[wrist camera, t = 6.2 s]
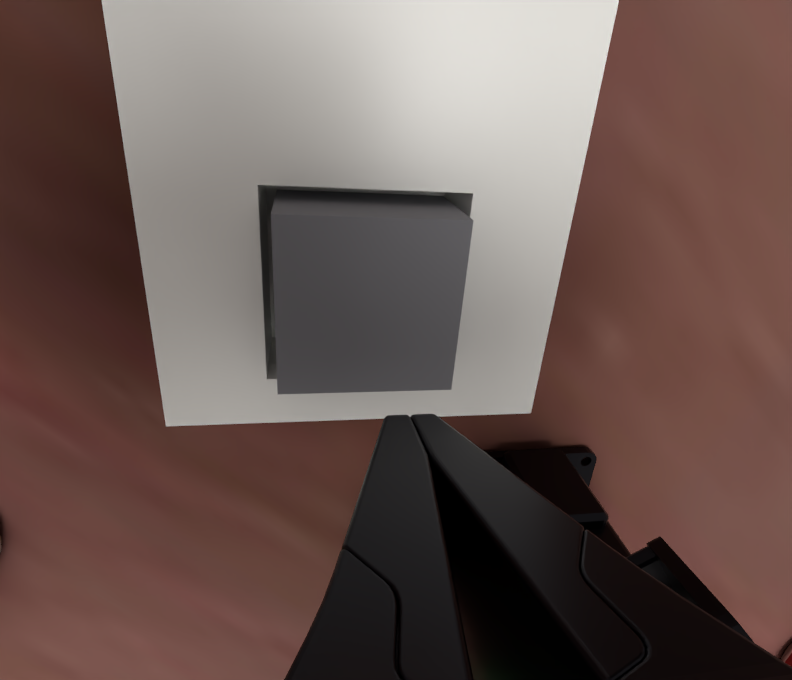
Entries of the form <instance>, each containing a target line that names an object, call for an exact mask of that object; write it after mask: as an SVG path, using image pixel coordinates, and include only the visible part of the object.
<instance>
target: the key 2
mask: <svg viewBox="0 0 792 680" xmlns="http://www.w3.org/2000/svg"><path fill="white" fill-rule="evenodd" d="M473 221H474V220H472V219H471V218H470V217H469V216H467V215H466V214H465V213H464V212H463V211H461V210H460V209H459V208H458V207H456V206H455V205H454V204H453V203H452V202H450V201H449V200H448V199H447V198H445V197H444V196H435V195H409V194H383V193H357V192H331V191H305V190H279V189H277V191H276V195H275V199H274V203H273V207H272V211H271V233H272V260H273V286H274V313H275V339H276V366H277V392H278V394H311V393H349V392H386V391H423V390H451V388H452V381H453V373H454V365H455V358H456V350H457V343H458V335H459V327H460V320H461V312H462V304H463V297H464V289H465V282H466V274H467V266H468V259H469V251H470V243H471V236H472V228H473Z"/></svg>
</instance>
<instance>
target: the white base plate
mask: <svg viewBox="0 0 792 680" xmlns="http://www.w3.org/2000/svg"><path fill="white" fill-rule="evenodd" d="M618 2H619V0H102V7H103V13H104V20H105V27H106V33H107V40H108V46H109V53H110V60H111V66H112V73H113V80H114V86H115V93H116V99H117V106H118V113H119V119H120V126H121V132H122V139H123V146H124V152H125V159H126V165H127V172H128V179H129V185H130V192H131V198H132V205H133V212H134V218H135V225H136V232H137V238H138V245H139V251H140V258H141V265H142V271H143V278H144V284H145V291H146V298H147V304H148V311H149V317H150V324H151V331H152V337H153V344H154V350H155V357H156V364H157V370H158V377H159V383H160V390H161V397H162V403H163V410H164V417H165V423H166V426H190V425H218V424H246V423H274V422H302V421H330V420H358V419H384V418H385V417H386V416H387V415H408V416H409V417H411V416H412V415H414V414H435V415H436V416H438V417H441V416H469V415H497V414H525V413H531V410H532V406H533V401H534V396H535V392H536V387H537V382H538V377H539V373H540V368H541V363H542V359H543V354H544V349H545V345H546V340H547V335H548V331H549V326H550V321H551V317H552V312H553V307H554V302H555V298H556V293H557V288H558V284H559V279H560V274H561V270H562V265H563V260H564V256H565V251H566V246H567V242H568V237H569V232H570V227H571V223H572V218H573V213H574V209H575V204H576V199H577V195H578V190H579V185H580V181H581V176H582V171H583V166H584V162H585V157H586V152H587V148H588V143H589V138H590V134H591V129H592V124H593V120H594V115H595V110H596V106H597V101H598V96H599V91H600V87H601V82H602V77H603V73H604V68H605V63H606V59H607V54H608V49H609V45H610V40H611V35H612V31H613V26H614V21H615V16H616V12H617V7H618ZM277 189H279V190H305V191H331V192H357V193H383V194H409V195H435V196H444V197H445V198H447V199H448V200H449V201H450V202H452V203H453V204H454V205H455V206H456V207H458V208H459V209H460V210H461V211H463V212H464V213H465V214H466V215H467V216H469V217H470V218H471V219H472V220H474V221H473V228H472V236H471V243H470V251H469V259H468V266H467V274H466V282H465V289H464V297H463V304H462V312H461V320H460V327H459V335H458V343H457V350H456V358H455V365H454V373H453V381H452V388H451V390H423V391H386V392H349V393H311V394H278V392H277V366H276V339H275V313H274V286H273V260H272V233H271V211H272V207H273V203H274V199H275V195H276V191H277Z"/></svg>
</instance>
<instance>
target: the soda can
mask: <svg viewBox="0 0 792 680" xmlns="http://www.w3.org/2000/svg"><path fill="white" fill-rule="evenodd" d="M781 661H783V662H785V663H786V664H788V665H790V666H791V667H792V643H791V644H790V645H789V646H788V647H787V649H786V650H785V651H784V653H783V655H782V657H781Z"/></svg>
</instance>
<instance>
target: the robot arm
mask: <svg viewBox="0 0 792 680" xmlns="http://www.w3.org/2000/svg"><path fill="white" fill-rule="evenodd" d="M585 457H586V458H585ZM583 458H585V459H584V460H582V459H583ZM595 463H596V456H595V454H594V453H593V452H592V450H591V449H589V448H587V447H576V448H555V449H534V450H514V451H493V452H484V451H483V450H481V449H480V448H479V447H477V446H476V445H475V444H474V443H472V442H471V441H470V440H468V439H467V438H466V437H464V436H463V435H462V434H460V433H459V432H458V431H456V430H455V429H454V428H452V427H451V426H450V425H448V424H447V423H446V422H444V421H443V420H442V419H441V418H439V417H438V416H436V415H435V414H414V415H412V416H411V417H409V416H408V415H387V416H386V417H385V418H384V421H383V424H382V427H381V430H380V433H379V436H378V439H377V442H376V445H375V448H374V451H373V454H372V457H371V460H370V464H369V467H368V470H367V473H366V476H365V479H364V482H363V485H362V488H361V491H360V494H359V497H358V500H357V503H356V506H355V509H354V512H353V515H352V518H351V521H350V525H349V528H348V531H347V534H346V537H345V540H344V543H343V546H342V550H341V551H340V554H339V557H338V560H337V563H336V566H335V569H334V572H333V575H332V577H331V580H330V583H329V585H328V588H327V591H326V593H325V596H324V598H323V601H322V604H321V606H320V608H319V610H318V612H317V614H316V617H315V619H314V621H313V623H312V625H311V627H310V630H309V632H308V634H307V636H306V638H305V640H304V642H303V644H302V646H301V648H300V650H299V652H298V654H297V656H296V658H295V660H294V662H293V664H292V666H291V668H290V670H289V671H288V673H287V675H286V677H285V679H284V680H792V667H791V666H790V665H788V664H786V663H785V662H783V661H781V660H780V659H778V658H777V657H775V656H773V655H772V654H770V653H769V652H767V651H766V650H764V649H763V648H761V647H760V646H758V645H756V644H755V643H754V642H753V641H752V639H751V638H750V637H749V636H748V634H747V633H746V632H745V631H744V629H743V628H742V627H741V626H740V624H739V623H738V622H737V621H736V620H735V618H734V617H733V616H732V615H731V614H730V613H729V612H728V610H727V609H726V608H725V607H724V606H723V605H722V604H721V603H720V602H719V601H718V599H717V598H716V597H715V596H714V595H713V594H712V593H711V592H710V591H709V590H708V588H707V587H706V586H705V585H704V584H703V583H702V582H701V581H700V580H699V579H698V577H697V576H696V575H695V574H694V573H693V572H692V571H691V570H690V569H689V568H688V566H687V565H686V564H685V563H684V562H683V561H682V560H681V559H680V558H679V557H678V555H677V554H676V553H675V552H674V551H673V550H672V549H671V548H670V547H669V546H668V544H667V543H666V542H665V541H664V540H663V539H662V538H661V537H658V538H656V539H654V540H652V541H650V542H648V543H647V547H645V548H643V549H641V550H639V551H637V552H635V553H633V554H630V552H629V551H628V549H627V548H626V546H625V545H624V544H623V542H622V541H621V539H620V538H619V536H618V535H617V533H616V532H615V531H614V529H613V528H612V526H611V525H610V523H609V522H608V514H607V513H606V511H605V510H604V508H603V507H602V506H601V504H600V503H599V501H598V500H597V498H596V497H595V496H594V494H593V493H592V491H591V490H590V488H589V484H590V480H591V477H592V474H593V470H594V467H595Z"/></svg>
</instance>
